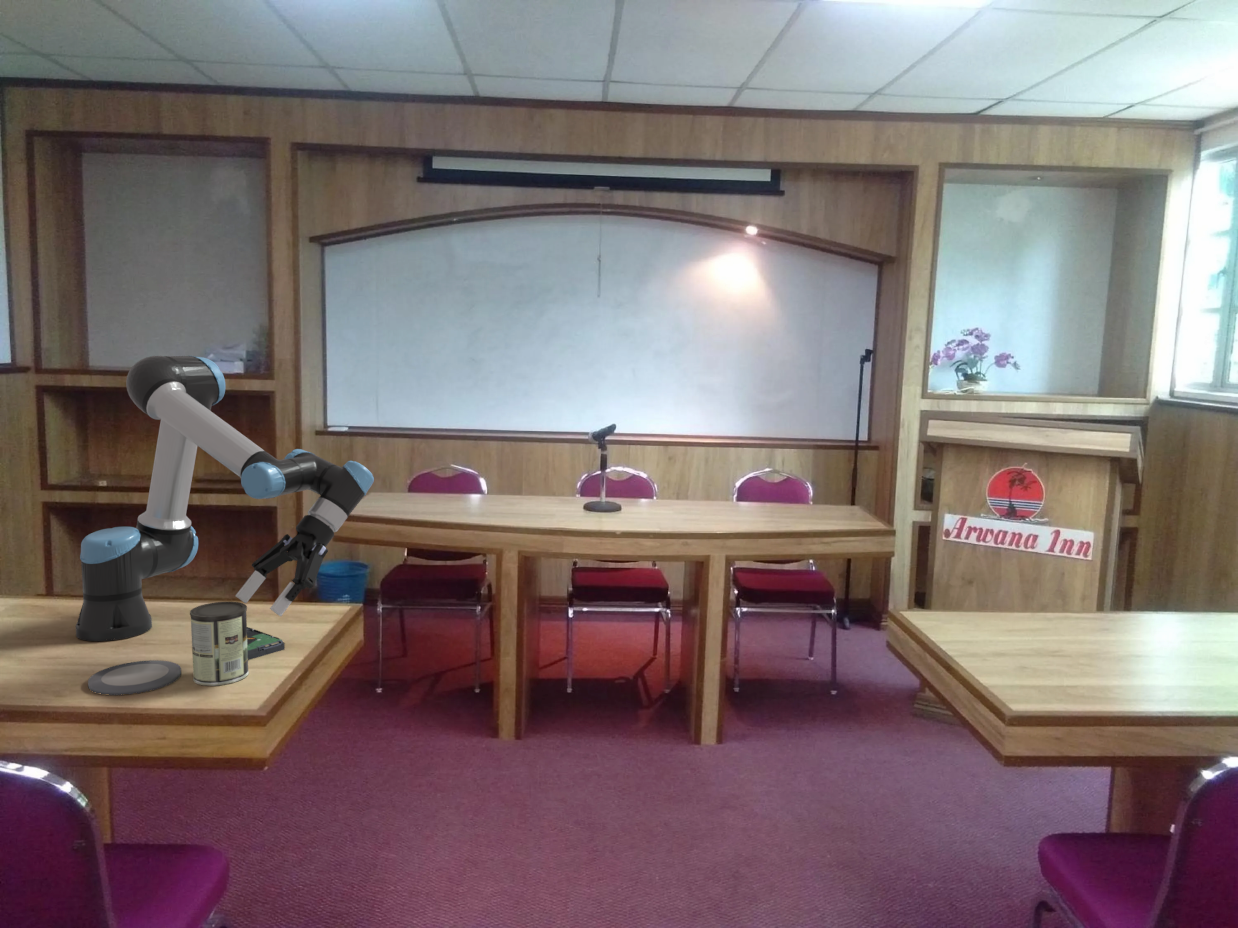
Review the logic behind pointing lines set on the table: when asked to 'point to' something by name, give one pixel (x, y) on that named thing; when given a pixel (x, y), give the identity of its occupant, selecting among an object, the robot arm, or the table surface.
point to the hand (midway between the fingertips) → (257, 606)
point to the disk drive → (262, 644)
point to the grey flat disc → (134, 677)
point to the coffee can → (219, 643)
